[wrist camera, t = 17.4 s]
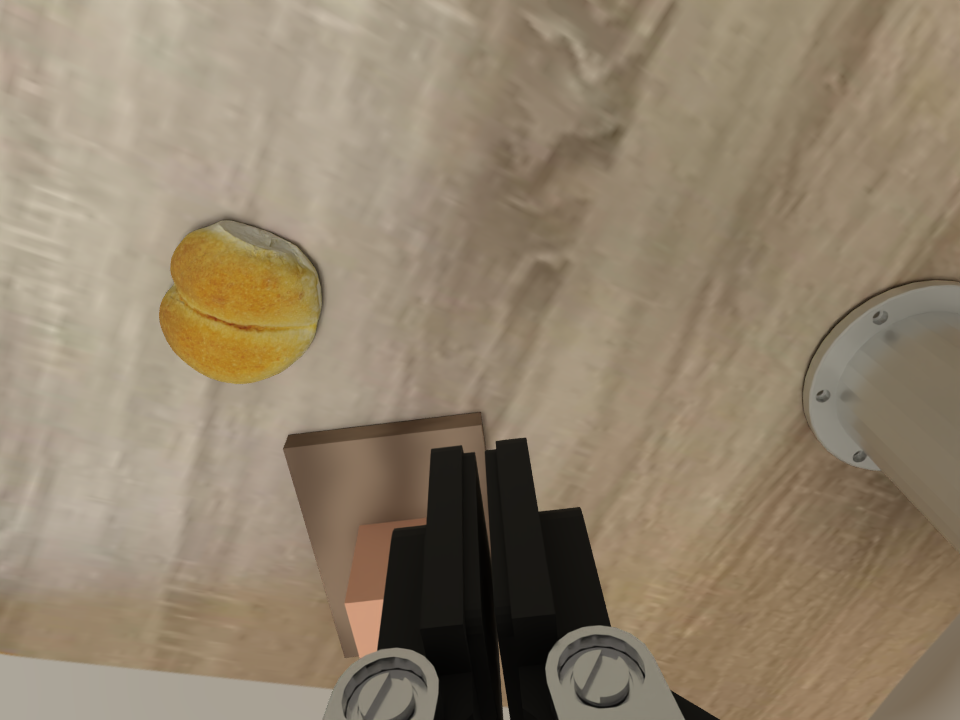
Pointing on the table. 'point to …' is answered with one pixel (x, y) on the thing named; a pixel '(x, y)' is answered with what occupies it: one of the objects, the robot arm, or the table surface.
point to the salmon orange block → (370, 581)
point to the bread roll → (240, 303)
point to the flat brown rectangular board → (369, 488)
